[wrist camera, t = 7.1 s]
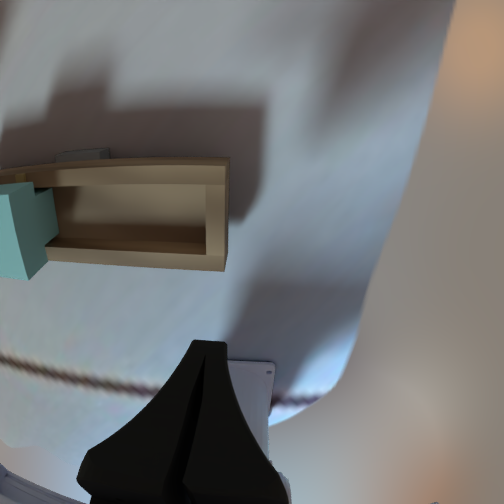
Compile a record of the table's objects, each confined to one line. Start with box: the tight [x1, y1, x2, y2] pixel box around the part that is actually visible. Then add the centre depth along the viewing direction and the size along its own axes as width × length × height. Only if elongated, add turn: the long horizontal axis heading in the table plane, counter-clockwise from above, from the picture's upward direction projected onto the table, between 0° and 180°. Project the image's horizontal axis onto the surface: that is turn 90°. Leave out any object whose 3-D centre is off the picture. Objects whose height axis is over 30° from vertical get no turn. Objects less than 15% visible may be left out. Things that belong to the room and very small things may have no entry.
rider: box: [0, 182, 59, 281], centre depth 16 cm, size 5×4×5 cm
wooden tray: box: [0, 148, 230, 272], centre depth 19 cm, size 7×20×4 cm, turn 88°
